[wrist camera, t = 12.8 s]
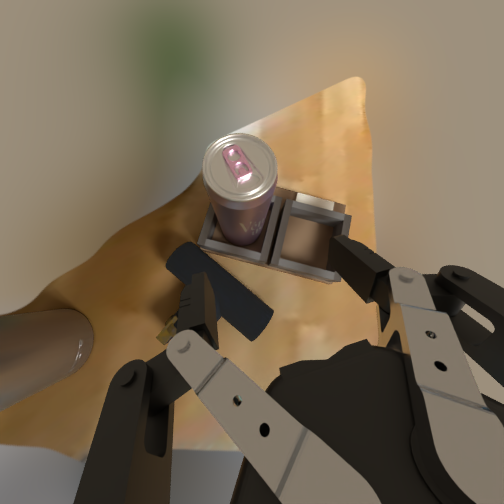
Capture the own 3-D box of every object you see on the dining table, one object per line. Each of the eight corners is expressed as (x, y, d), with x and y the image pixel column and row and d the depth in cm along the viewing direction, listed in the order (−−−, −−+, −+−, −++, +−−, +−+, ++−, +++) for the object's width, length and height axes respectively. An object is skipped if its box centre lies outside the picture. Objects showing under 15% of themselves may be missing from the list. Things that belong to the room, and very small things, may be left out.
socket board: (201, 250, 29) (194, 244, 25) (224, 177, 31) (221, 160, 27) (328, 284, 29) (342, 283, 24) (341, 208, 31) (357, 196, 27)
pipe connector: (214, 395, 21) (119, 308, 22) (220, 374, 26) (142, 304, 27) (276, 312, 23) (187, 237, 24) (270, 308, 28) (196, 246, 29)
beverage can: (250, 203, 29) (256, 119, 14) (268, 235, 28) (294, 181, 14) (215, 219, 28) (185, 148, 14) (233, 253, 28) (221, 216, 13)
